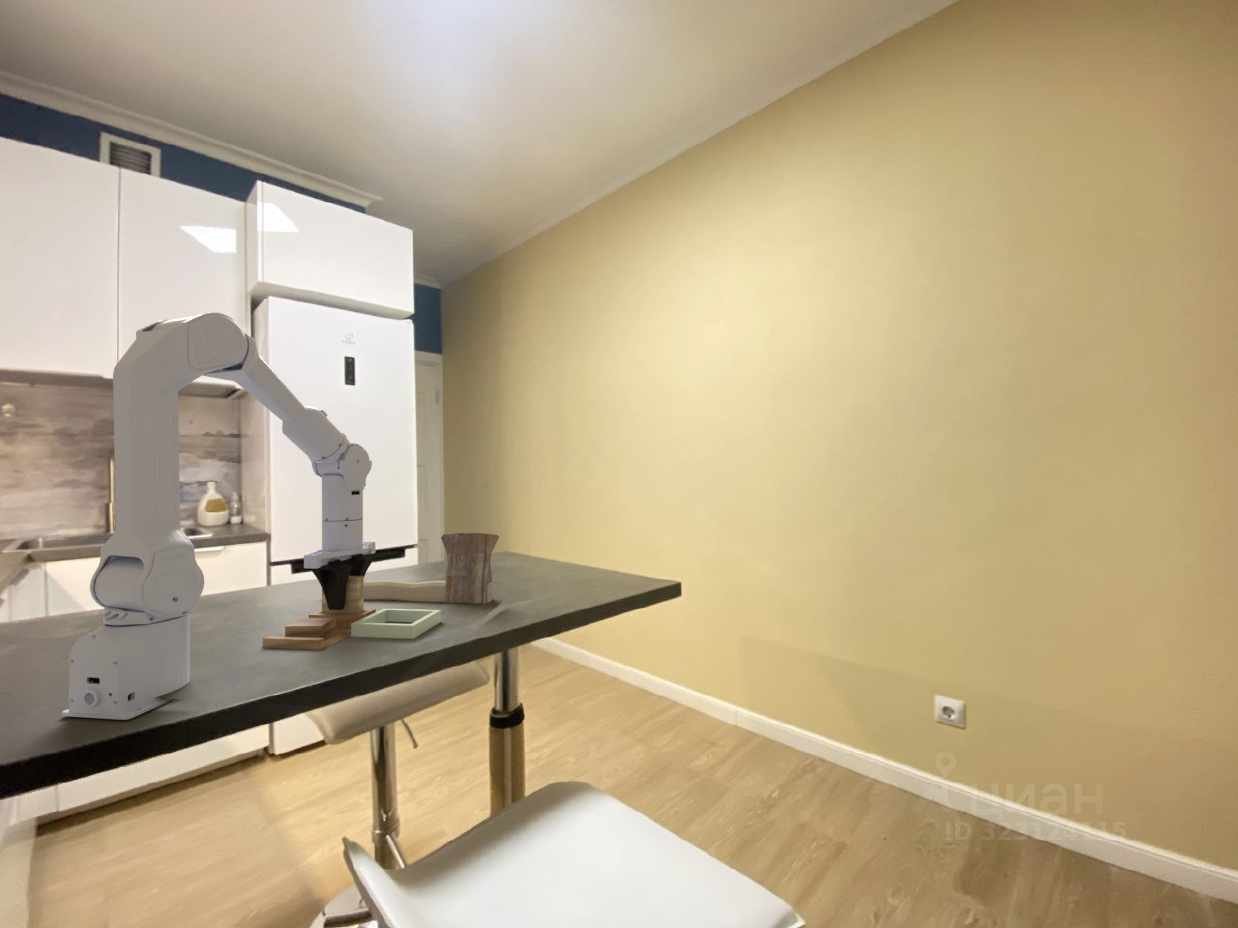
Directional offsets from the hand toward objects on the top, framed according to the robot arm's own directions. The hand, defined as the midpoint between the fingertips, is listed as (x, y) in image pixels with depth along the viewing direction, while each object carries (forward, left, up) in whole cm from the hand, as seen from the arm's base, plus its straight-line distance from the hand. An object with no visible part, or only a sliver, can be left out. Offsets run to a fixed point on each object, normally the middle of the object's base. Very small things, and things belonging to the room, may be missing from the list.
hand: (342, 606), depth 83 cm
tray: (-1, -10, -4) cm, 11 cm away
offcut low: (-7, 0, -3) cm, 8 cm away
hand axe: (+17, -2, -4) cm, 17 cm away
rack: (-4, 0, -4) cm, 6 cm away
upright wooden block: (0, 0, -3) cm, 3 cm away
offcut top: (-7, 0, -2) cm, 7 cm away
